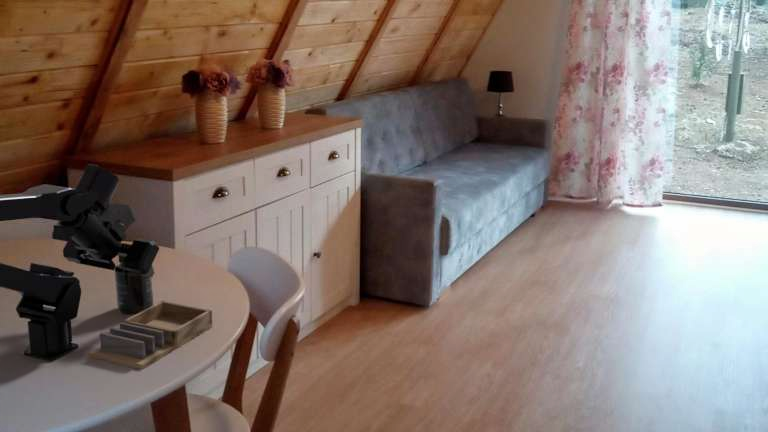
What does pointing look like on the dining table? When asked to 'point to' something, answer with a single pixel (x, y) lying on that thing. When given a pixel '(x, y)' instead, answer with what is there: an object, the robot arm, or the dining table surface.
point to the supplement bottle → (132, 290)
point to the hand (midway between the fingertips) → (133, 271)
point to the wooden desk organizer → (152, 334)
